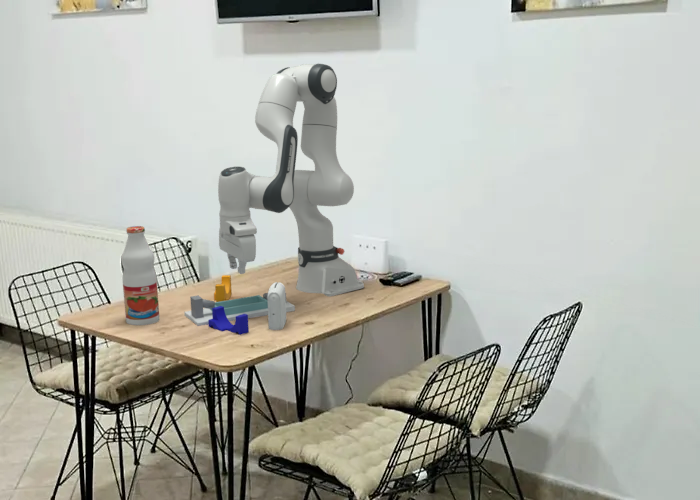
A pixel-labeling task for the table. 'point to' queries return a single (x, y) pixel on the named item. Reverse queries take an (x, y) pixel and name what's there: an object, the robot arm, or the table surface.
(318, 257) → the robot arm
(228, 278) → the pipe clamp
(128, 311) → the fruit juice
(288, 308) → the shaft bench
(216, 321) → the blue curved cradle
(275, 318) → the photo printer
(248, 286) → the table surface
